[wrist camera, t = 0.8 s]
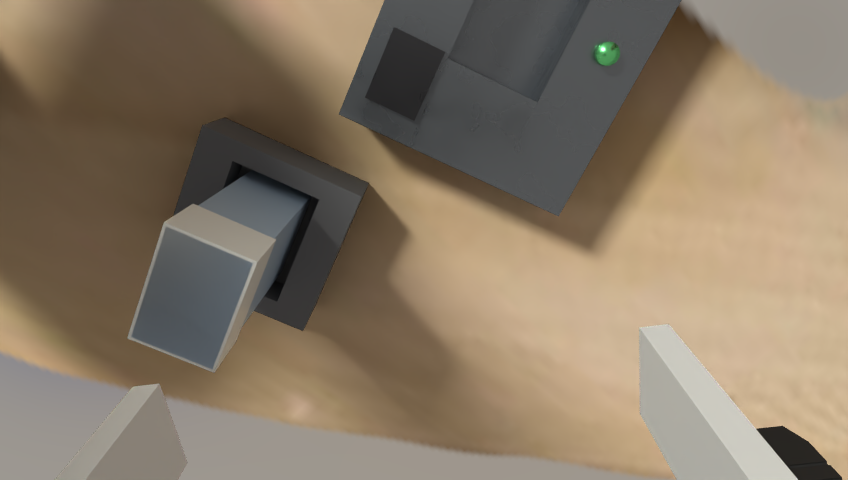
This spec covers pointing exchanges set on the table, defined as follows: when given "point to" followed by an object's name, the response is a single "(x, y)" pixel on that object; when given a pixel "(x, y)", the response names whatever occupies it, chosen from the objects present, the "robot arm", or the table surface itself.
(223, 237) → the plug
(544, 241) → the table surface
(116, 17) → the table surface
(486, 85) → the port panel
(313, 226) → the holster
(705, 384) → the robot arm
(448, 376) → the table surface
